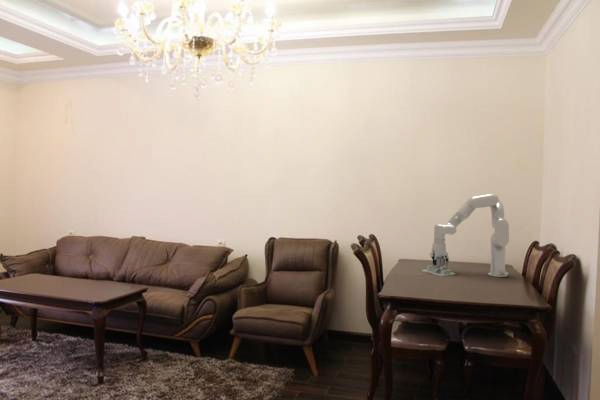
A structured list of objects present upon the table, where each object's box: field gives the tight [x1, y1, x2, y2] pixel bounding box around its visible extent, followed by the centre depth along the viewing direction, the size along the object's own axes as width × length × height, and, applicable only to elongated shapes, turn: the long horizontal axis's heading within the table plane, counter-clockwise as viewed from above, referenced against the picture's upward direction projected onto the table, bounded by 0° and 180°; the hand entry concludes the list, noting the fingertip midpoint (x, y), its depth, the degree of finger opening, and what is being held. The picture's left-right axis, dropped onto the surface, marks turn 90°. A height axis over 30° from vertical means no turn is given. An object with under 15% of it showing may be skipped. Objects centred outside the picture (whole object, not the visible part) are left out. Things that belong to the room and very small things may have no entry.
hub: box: [434, 257, 445, 268], centre depth 342 cm, size 7×7×6 cm
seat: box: [421, 264, 456, 277], centre depth 342 cm, size 20×14×6 cm
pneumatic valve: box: [437, 256, 449, 270], centre depth 360 cm, size 6×12×12 cm, turn 76°
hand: (438, 264), depth 342 cm, fingers closed on hub, 7 cm apart
